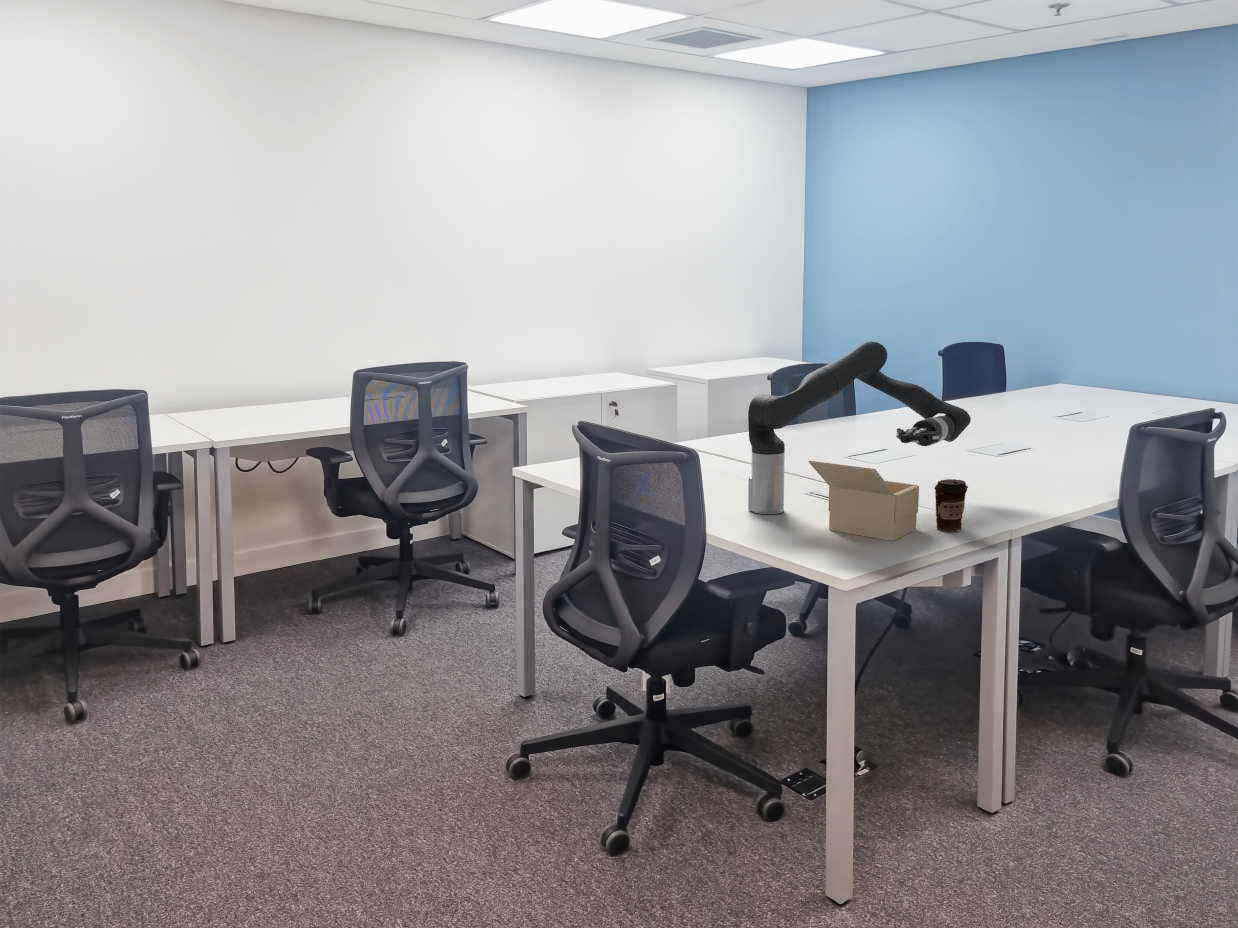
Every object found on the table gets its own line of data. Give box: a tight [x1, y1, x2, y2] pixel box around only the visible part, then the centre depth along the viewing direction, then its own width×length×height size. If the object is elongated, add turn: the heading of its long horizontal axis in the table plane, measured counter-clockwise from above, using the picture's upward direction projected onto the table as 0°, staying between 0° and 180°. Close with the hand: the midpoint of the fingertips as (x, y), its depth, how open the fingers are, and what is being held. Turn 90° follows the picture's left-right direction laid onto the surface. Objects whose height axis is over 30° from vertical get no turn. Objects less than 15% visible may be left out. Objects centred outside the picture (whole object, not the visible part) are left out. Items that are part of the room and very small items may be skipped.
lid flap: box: [808, 460, 894, 496], centre depth 253 cm, size 18×14×1 cm
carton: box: [828, 480, 920, 542], centre depth 265 cm, size 19×14×12 cm
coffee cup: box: [934, 478, 969, 532], centre depth 264 cm, size 9×8×13 cm
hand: (903, 439), depth 275 cm, fingers closed
